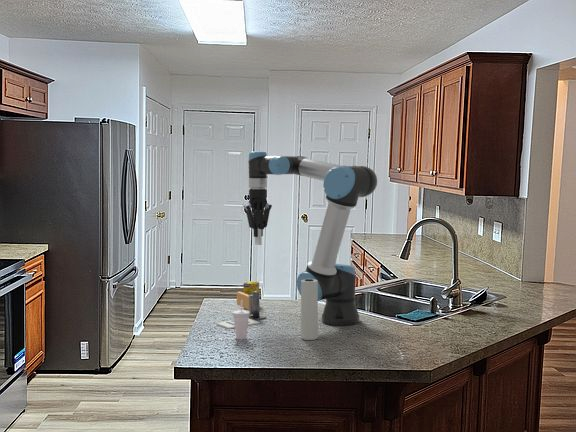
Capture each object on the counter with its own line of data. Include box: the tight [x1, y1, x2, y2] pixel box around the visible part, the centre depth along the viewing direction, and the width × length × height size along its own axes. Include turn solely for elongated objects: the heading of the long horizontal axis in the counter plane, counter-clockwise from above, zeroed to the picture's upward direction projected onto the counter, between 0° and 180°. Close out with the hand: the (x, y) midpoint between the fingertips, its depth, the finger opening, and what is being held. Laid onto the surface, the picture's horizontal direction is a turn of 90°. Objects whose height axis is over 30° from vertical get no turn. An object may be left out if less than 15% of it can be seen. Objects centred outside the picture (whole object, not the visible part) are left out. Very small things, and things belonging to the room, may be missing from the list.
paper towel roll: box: [300, 278, 319, 341], centre depth 238 cm, size 7×6×21 cm
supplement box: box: [242, 280, 260, 295], centre depth 293 cm, size 6×6×11 cm
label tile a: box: [248, 319, 261, 327], centre depth 263 cm, size 9×6×1 cm, turn 37°
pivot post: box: [249, 290, 267, 321], centre depth 270 cm, size 6×6×11 cm
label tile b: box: [216, 320, 235, 330], centre depth 258 cm, size 9×6×1 cm, turn 37°
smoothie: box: [231, 300, 251, 340], centre depth 238 cm, size 6×6×14 cm
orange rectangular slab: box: [236, 291, 253, 316], centre depth 279 cm, size 16×2×8 cm, turn 28°
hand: (258, 244), depth 277 cm, fingers closed
